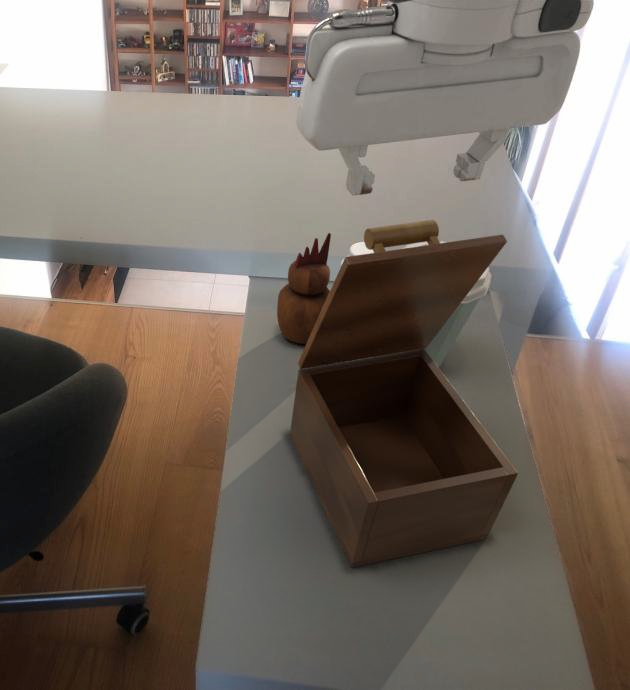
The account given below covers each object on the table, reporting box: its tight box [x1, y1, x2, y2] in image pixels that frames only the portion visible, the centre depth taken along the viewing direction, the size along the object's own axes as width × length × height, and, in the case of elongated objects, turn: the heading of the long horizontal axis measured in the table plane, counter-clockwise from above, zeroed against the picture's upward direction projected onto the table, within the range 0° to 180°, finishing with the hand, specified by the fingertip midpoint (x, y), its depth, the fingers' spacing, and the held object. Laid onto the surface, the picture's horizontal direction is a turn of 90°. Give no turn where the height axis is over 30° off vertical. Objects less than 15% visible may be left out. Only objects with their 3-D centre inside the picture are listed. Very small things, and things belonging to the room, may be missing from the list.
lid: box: [297, 219, 508, 370], centre depth 64 cm, size 18×14×5 cm
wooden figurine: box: [276, 232, 332, 345], centre depth 84 cm, size 7×6×15 cm
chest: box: [289, 349, 519, 568], centre depth 68 cm, size 17×14×10 cm
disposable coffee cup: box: [389, 240, 493, 368], centre depth 81 cm, size 11×11×15 cm
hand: (412, 184), depth 56 cm, fingers open, 8 cm apart
